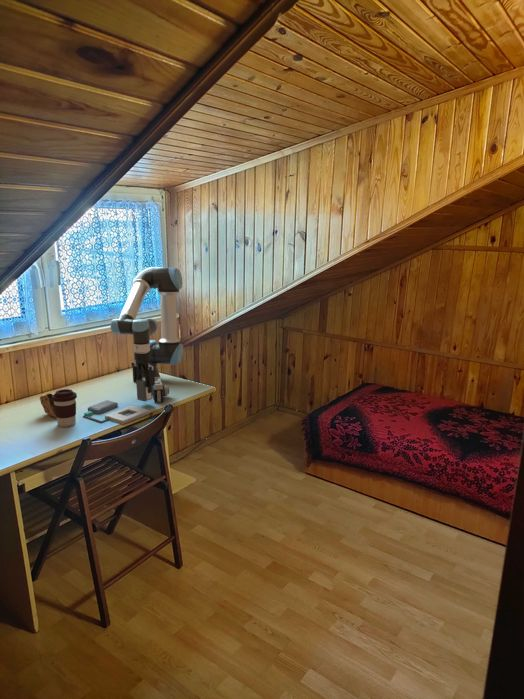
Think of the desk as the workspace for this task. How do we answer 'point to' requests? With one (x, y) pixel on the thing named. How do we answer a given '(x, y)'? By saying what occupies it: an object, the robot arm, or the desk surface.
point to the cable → (93, 418)
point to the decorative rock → (48, 404)
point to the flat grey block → (102, 407)
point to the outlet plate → (127, 414)
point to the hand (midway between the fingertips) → (144, 397)
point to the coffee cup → (65, 407)
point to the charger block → (141, 389)
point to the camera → (159, 391)
